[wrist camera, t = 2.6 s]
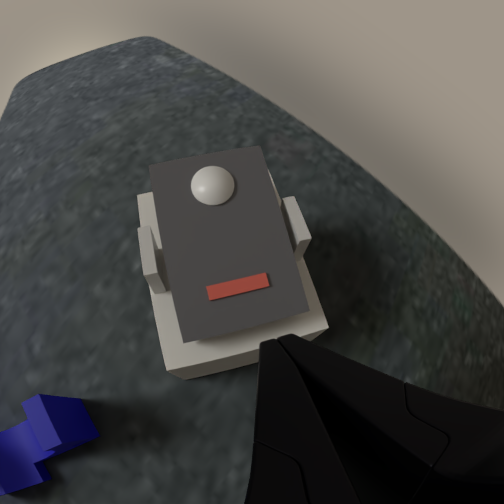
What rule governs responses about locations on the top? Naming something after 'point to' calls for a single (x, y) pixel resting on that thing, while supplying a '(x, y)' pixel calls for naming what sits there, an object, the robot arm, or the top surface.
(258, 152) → the rocker
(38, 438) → the blue notched block
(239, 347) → the switch box
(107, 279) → the top surface
